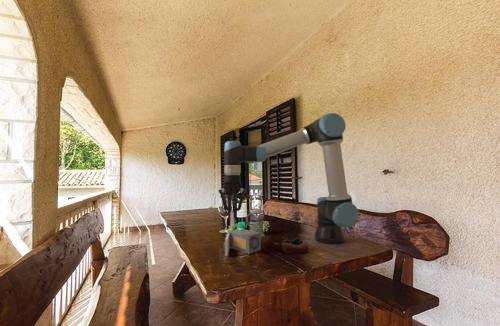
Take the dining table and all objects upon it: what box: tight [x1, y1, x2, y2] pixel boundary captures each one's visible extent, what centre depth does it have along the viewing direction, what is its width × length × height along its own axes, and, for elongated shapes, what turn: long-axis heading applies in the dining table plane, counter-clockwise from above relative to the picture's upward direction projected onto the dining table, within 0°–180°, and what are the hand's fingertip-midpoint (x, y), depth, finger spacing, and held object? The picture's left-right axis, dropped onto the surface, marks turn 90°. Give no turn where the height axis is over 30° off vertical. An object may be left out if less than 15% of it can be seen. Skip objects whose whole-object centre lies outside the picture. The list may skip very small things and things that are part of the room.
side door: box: [223, 232, 231, 257], centre depth 112 cm, size 13×2×7 cm, turn 0°
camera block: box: [228, 228, 262, 255], centre depth 117 cm, size 16×8×9 cm, turn 45°
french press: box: [245, 192, 266, 238], centre depth 144 cm, size 10×12×25 cm
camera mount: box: [236, 221, 246, 230], centre depth 132 cm, size 12×8×10 cm, turn 15°
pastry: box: [281, 237, 309, 255], centre depth 114 cm, size 11×12×6 cm
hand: (232, 225), depth 111 cm, fingers closed
